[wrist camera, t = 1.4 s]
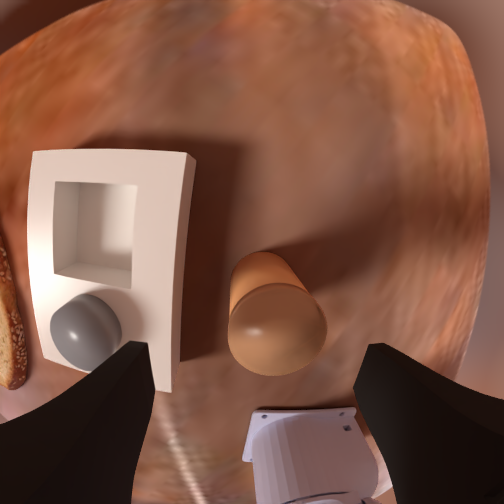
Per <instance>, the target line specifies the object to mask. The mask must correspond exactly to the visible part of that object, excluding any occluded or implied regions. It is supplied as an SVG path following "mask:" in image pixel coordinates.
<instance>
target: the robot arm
mask: <svg viewBox="0 0 504 504" xmlns="http://www.w3.org/2000/svg"><path fill="white" fill-rule="evenodd" d="M353 389H354V392H355V396H356V399H357V402H358V405H359V408H360V411H361V413H362V415H363V417H364V419H365V421H366V423H367V425H368V428H369V430H370V432H371V434H372V436H373V438H374V440H375V442H376V444H377V446H378V448H379V450H380V452H381V454H382V456H383V458H384V461H385V463H386V466H387V469H388V472H389V475H390V478H391V481H392V485H393V489H394V492H395V497H396V501H397V504H504V400H503V399H498V398H495V397H491V396H488V395H485V394H482V393H479V392H477V391H474V390H472V389H469V388H467V387H464V386H462V385H460V384H458V383H456V382H454V381H452V380H450V379H448V378H446V377H444V376H442V375H440V374H438V373H436V372H435V371H433V370H431V369H429V368H428V367H426V366H424V365H422V364H421V363H419V362H417V361H416V360H414V359H412V358H410V357H409V356H407V355H405V354H404V353H402V352H400V351H398V350H397V349H395V348H393V347H391V346H389V345H387V344H385V343H376V344H369V345H368V348H367V351H366V354H365V357H364V359H363V362H362V365H361V368H360V371H359V373H358V376H357V378H356V381H355V384H354V386H353ZM154 395H155V384H154V378H153V373H152V367H151V361H150V354H149V347H148V343H147V342H139V341H131V340H130V341H128V342H127V343H126V344H125V345H123V346H122V347H121V348H120V349H118V350H117V351H116V352H115V353H114V354H113V355H111V356H110V357H109V358H108V359H107V360H105V361H104V362H103V363H102V364H100V365H99V366H98V367H97V368H96V369H94V370H93V371H92V372H91V373H89V374H88V375H87V376H85V377H84V378H83V379H81V380H80V381H79V382H77V383H76V384H74V385H73V386H72V387H70V388H69V389H67V390H66V391H65V392H63V393H62V394H60V395H59V396H57V397H56V398H54V399H52V400H51V401H49V402H47V403H45V404H44V405H42V406H40V407H38V408H37V409H35V410H33V411H31V412H29V413H26V414H24V415H22V416H20V417H17V418H15V419H13V420H10V421H8V422H6V423H3V424H0V504H131V497H132V488H133V480H134V475H135V470H136V466H137V462H138V459H139V455H140V452H141V448H142V445H143V441H144V438H145V434H146V431H147V427H148V424H149V421H150V417H151V413H152V407H153V401H154ZM355 414H356V409H355V407H347V408H336V409H320V410H256V411H254V412H253V413H252V417H251V422H250V426H249V430H248V435H247V439H246V443H245V447H244V452H243V456H242V460H243V461H245V462H253V470H254V481H255V491H256V501H257V504H381V503H380V502H379V501H378V500H375V499H372V498H371V496H372V495H373V494H374V492H375V490H376V487H377V484H378V467H377V463H376V460H375V457H374V455H373V453H372V451H371V449H370V447H369V445H368V443H367V441H366V439H365V437H364V435H363V434H362V432H361V430H360V428H359V426H358V424H357V422H356V420H355V418H354V416H355ZM263 415H265V416H263Z"/></svg>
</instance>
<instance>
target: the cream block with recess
mask: <svg viewBox="0 0 504 504" xmlns="http://www.w3.org/2000/svg"><path fill="white" fill-rule="evenodd" d="M195 168H196V160H195V159H194V158H193V157H191V156H190V155H189V154H188V153H185V152H173V151H157V150H136V149H66V150H46V151H33V156H32V164H31V172H30V182H29V194H28V218H27V238H28V261H29V274H30V284H31V292H32V300H33V307H34V313H35V318H36V324H37V329H38V334H39V338H40V343H41V347H42V351H43V355H44V358H46V359H49V360H51V361H54V362H57V363H59V364H62V365H65V366H68V367H71V368H74V369H77V370H80V371H83V372H86V373H91V372H92V371H93V370H94V369H96V368H97V367H98V366H99V365H100V364H102V363H103V362H104V361H105V360H107V359H108V358H109V357H110V356H111V355H113V354H114V353H115V352H116V351H117V350H118V349H120V348H121V347H122V346H123V345H125V344H126V343H127V342H128V341H130V340H131V341H139V342H147V343H148V347H149V354H150V361H151V367H152V373H153V378H154V384H155V390H159V391H164V392H170V393H172V389H173V385H174V382H175V378H176V374H177V371H178V367H179V364H180V334H181V311H182V293H183V279H184V266H185V254H186V243H187V233H188V223H189V214H190V206H191V198H192V190H193V182H194V175H195Z"/></svg>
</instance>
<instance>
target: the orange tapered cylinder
mask: <svg viewBox="0 0 504 504" xmlns="http://www.w3.org/2000/svg"><path fill="white" fill-rule="evenodd" d="M326 335H327V321H326V317H325V314H324V312H323V310H322V309H321V307H320V306H319V304H318V303H317V302H316V300H315V299H314V298H313V297H312V295H311V294H309V293H308V291H307V290H306V288H305V287H304V286H303V284H302V283H301V282H300V280H299V279H298V278H297V276H296V275H295V273H294V272H293V271H292V269H291V268H290V267H289V265H288V264H287V263H286V262H285V260H283V259H282V258H281V257H279V256H278V255H276V254H273V253H270V252H255V253H252V254H249V255H247V256H245V257H244V258H242V259H241V260H240V261H239V262H238V263H237V265H236V266H235V268H234V270H233V272H232V275H231V282H230V317H229V322H228V344H229V347H230V350H231V352H232V354H233V356H234V357H235V359H236V360H237V361H238V362H239V363H240V364H241V365H242V366H243V367H245V368H247V369H248V370H250V371H252V372H255V373H258V374H262V375H269V376H277V375H284V374H289V373H292V372H294V371H297V370H299V369H301V368H302V367H304V366H306V365H307V364H308V363H310V362H311V361H312V360H313V359H314V358H315V357H316V356H317V355H318V353H319V352H320V350H321V349H322V347H323V345H324V342H325V340H326Z"/></svg>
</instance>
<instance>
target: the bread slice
mask: <svg viewBox="0 0 504 504" xmlns="http://www.w3.org/2000/svg"><path fill="white" fill-rule="evenodd" d="M27 363H28V362H27V351H26V345H25V336H24V329H23V323H22V320H21V317H20V314H19V311H18V307H17V299H16V291H15V287H14V283H13V279H12V274H11V270H10V267H9V263H8V259H7V255H6V251H5V247H4V244H3V241H2V238H1V235H0V385H2V386H4V387H6V388H7V389H8V390H16V389H18V388H19V387H20V386H21V385H22V384H23V382H24V381H25V379H26V372H27Z"/></svg>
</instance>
